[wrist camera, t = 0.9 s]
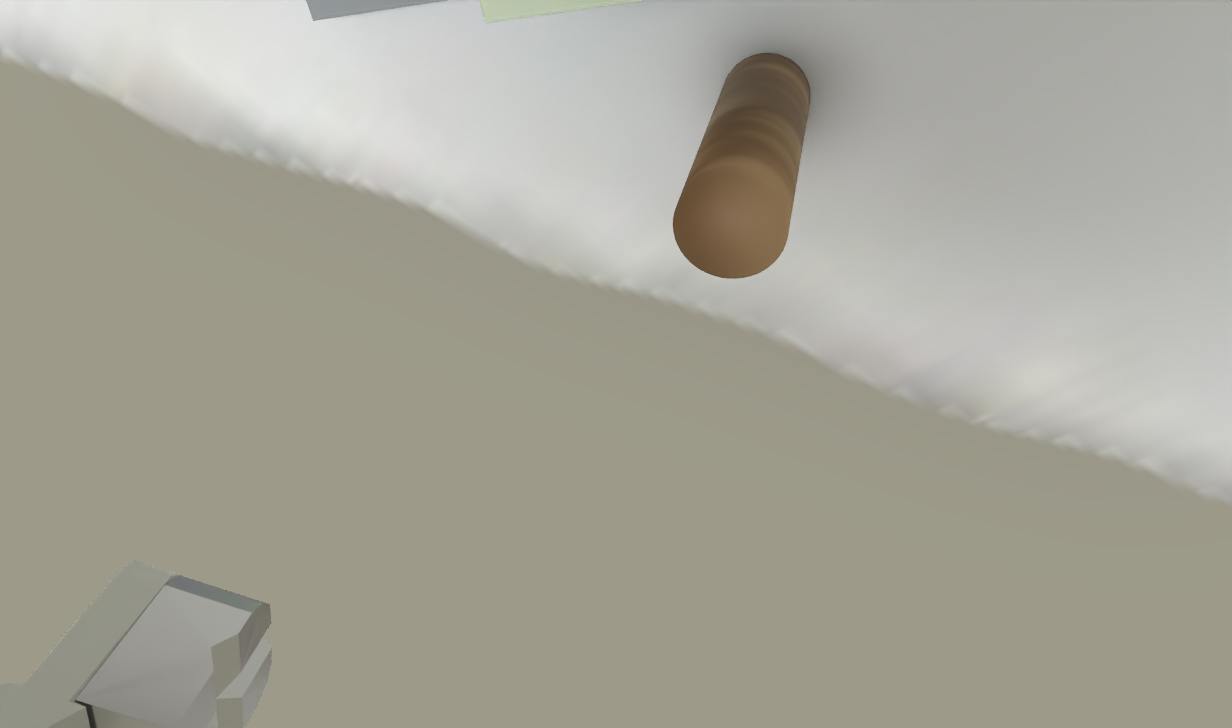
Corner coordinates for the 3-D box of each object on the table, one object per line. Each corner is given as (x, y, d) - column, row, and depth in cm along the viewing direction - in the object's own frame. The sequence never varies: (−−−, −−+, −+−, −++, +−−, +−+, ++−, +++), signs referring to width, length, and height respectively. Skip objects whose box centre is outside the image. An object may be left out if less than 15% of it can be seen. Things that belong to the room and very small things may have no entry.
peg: (806, 48, 38) (782, 169, 28) (813, 134, 39) (793, 275, 30) (717, 59, 39) (664, 179, 29) (727, 142, 41) (682, 281, 31)
